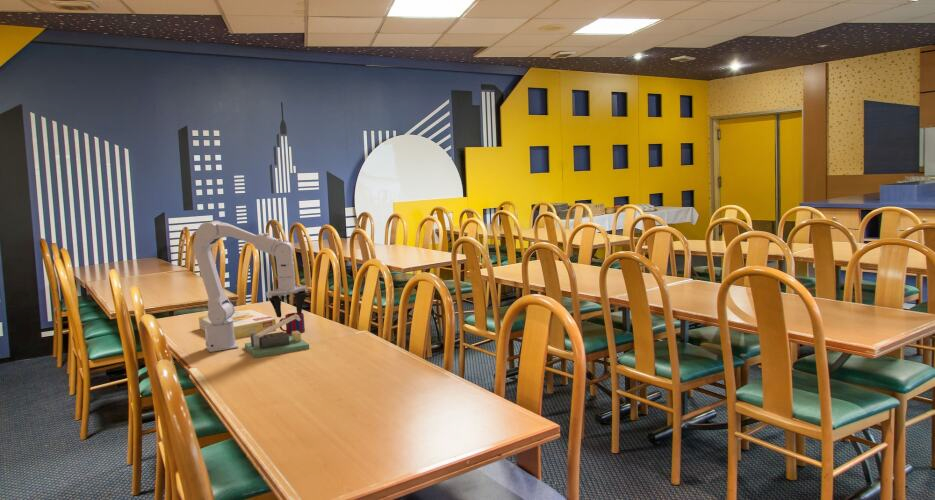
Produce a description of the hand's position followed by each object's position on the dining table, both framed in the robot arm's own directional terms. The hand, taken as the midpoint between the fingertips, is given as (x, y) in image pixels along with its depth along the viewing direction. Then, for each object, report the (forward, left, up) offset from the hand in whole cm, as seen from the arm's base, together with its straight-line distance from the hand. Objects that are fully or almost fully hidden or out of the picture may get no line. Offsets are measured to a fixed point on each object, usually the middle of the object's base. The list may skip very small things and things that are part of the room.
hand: (289, 315), depth 227 cm
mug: (+4, +16, -11) cm, 20 cm away
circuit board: (-6, -3, -10) cm, 12 cm away
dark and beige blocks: (-6, -3, -9) cm, 11 cm away
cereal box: (-12, +37, -11) cm, 40 cm away
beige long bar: (-5, -2, -4) cm, 7 cm away
